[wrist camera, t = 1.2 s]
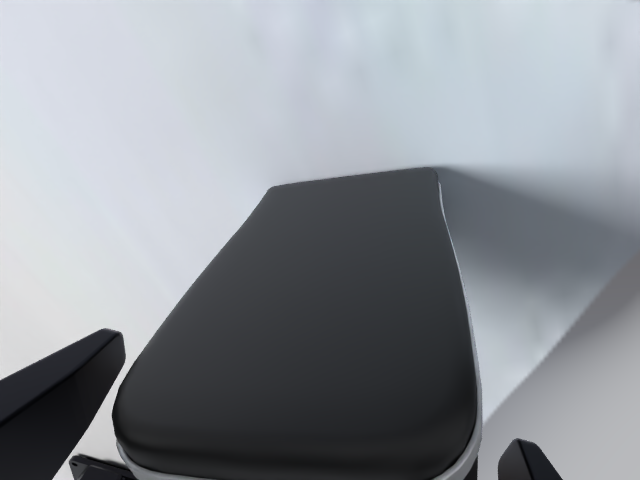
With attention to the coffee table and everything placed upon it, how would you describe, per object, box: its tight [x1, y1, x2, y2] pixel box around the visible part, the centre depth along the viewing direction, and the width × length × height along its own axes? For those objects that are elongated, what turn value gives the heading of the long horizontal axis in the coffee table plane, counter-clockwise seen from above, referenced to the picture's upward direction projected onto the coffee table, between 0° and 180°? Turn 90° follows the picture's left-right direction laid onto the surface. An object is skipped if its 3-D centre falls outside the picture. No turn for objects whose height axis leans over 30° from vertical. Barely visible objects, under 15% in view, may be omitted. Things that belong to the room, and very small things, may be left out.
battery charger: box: [112, 167, 483, 480], centre depth 11 cm, size 7×4×11 cm, turn 101°
